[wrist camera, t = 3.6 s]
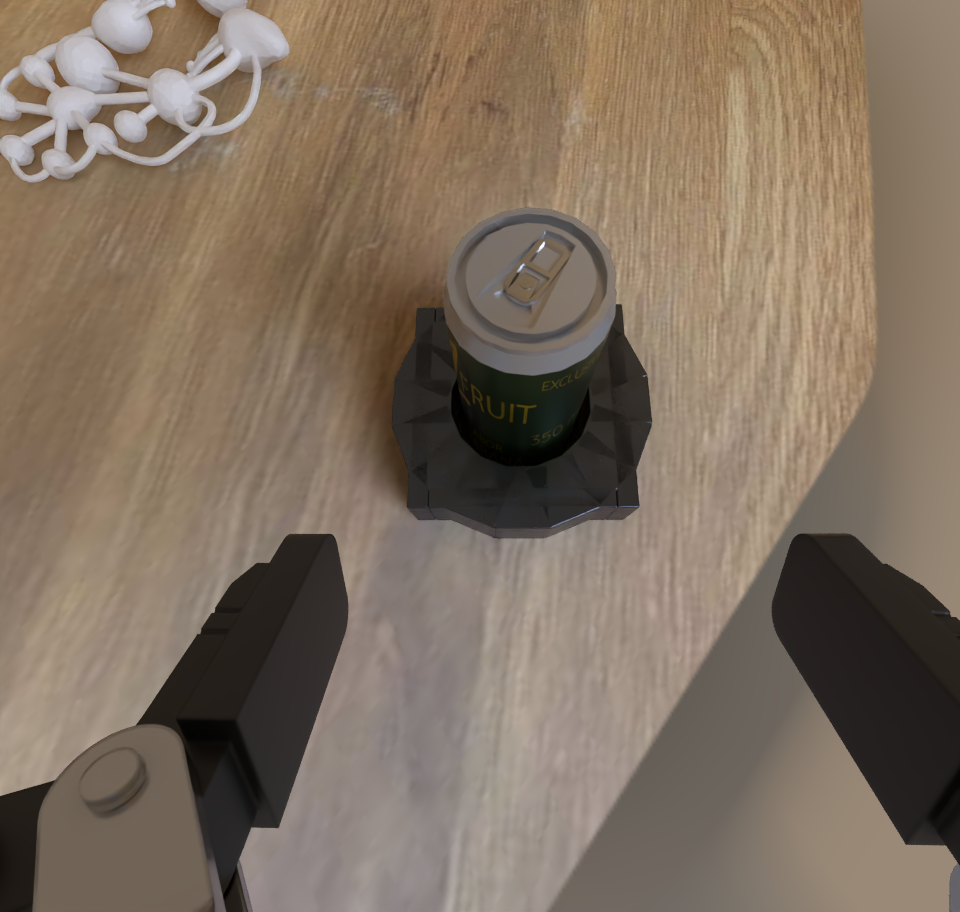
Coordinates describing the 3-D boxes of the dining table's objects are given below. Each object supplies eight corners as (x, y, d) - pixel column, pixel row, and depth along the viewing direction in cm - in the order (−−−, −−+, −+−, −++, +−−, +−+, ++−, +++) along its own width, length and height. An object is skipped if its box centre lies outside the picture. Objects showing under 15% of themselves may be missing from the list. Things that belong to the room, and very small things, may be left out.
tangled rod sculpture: (50, 255, 32) (-14, 210, 28) (-18, 91, 35) (-84, 29, 31) (328, 123, 34) (305, 62, 30) (242, -24, 36) (210, -98, 32)
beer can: (504, 358, 27) (505, 174, 16) (590, 410, 26) (658, 253, 15) (445, 436, 26) (401, 299, 15) (533, 494, 25) (559, 394, 14)
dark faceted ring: (625, 321, 28) (639, 287, 25) (644, 538, 24) (663, 528, 21) (409, 324, 28) (399, 292, 25) (398, 538, 25) (384, 528, 22)
